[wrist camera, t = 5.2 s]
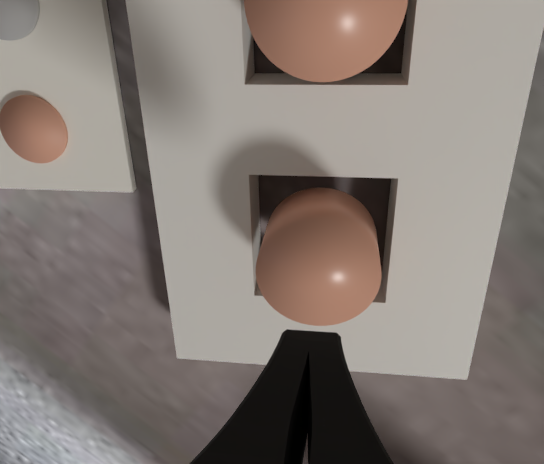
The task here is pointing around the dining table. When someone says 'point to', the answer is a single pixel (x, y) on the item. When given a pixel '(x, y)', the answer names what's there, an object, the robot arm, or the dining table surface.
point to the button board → (335, 171)
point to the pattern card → (61, 99)
